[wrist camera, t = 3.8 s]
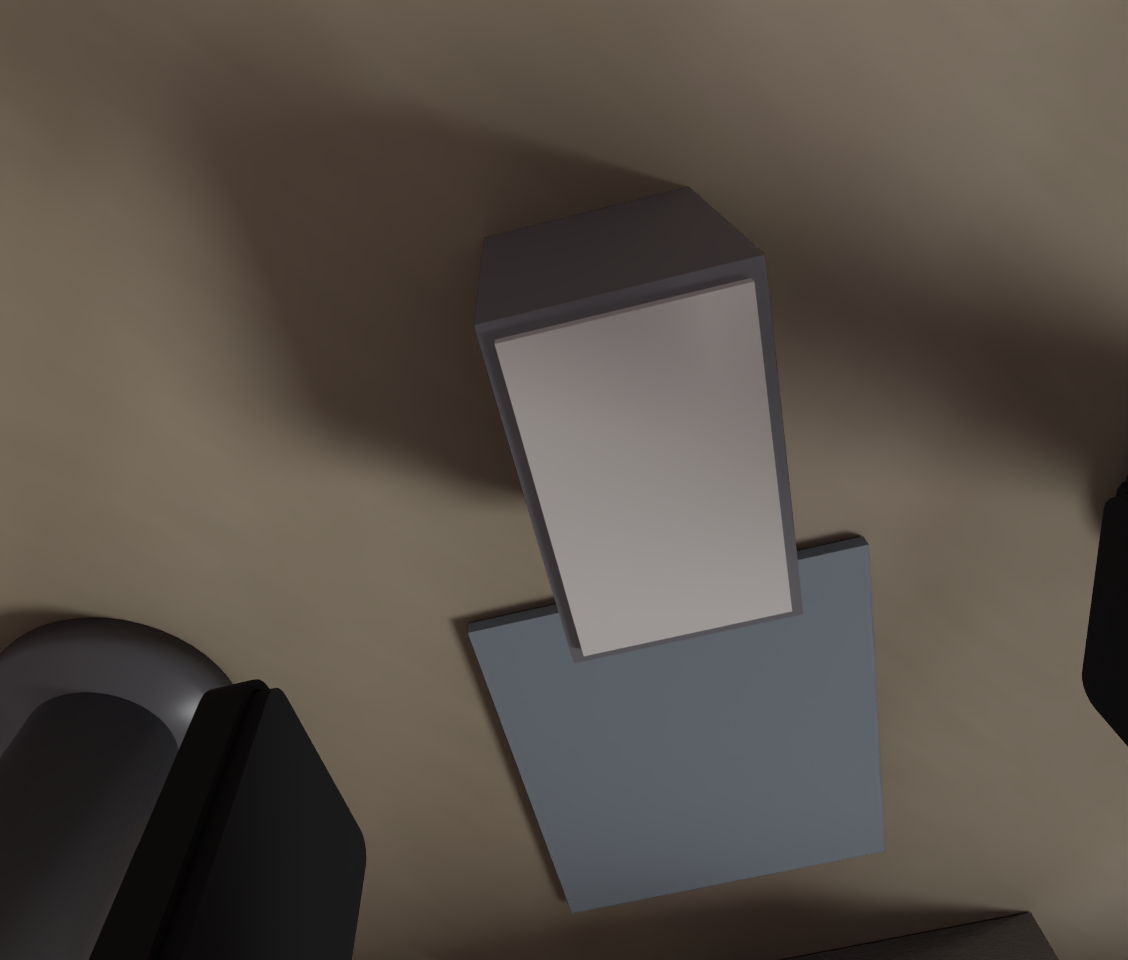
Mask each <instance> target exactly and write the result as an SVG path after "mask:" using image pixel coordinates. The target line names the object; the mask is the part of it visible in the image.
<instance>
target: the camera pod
mask: <svg viewBox="0 0 1128 960" xmlns="http://www.w3.org/2000/svg"><path fill="white" fill-rule="evenodd" d="M474 328H475V331H476V335H477V338H478V342H479V345H480V348H481V352H482V355H483V358H484V362H485V365H486V369H487V372H488V375H489V379H490V382H491V386H492V389H493V392H494V396H495V399H496V402H497V406H498V409H499V413H500V416H501V419H502V423H503V426H504V430H505V433H506V436H507V440H508V443H509V446H510V450H511V453H512V457H513V460H514V463H515V467H516V470H517V474H518V477H519V480H520V484H521V487H522V491H523V494H524V497H525V501H526V504H527V507H528V511H529V514H530V518H531V521H532V524H533V528H534V531H535V535H536V538H537V541H538V545H539V548H540V551H541V555H542V558H543V562H544V565H545V568H546V572H547V575H548V579H549V582H550V585H551V589H552V592H553V595H554V599H555V602H556V606H557V609H558V612H559V616H560V619H561V623H562V626H563V629H564V633H565V636H566V639H567V643H568V646H569V650H570V653H571V656H572V660H573V663H579V662H584V661H588V660H593V659H598V658H602V657H607V656H612V655H616V654H621V653H625V652H630V651H635V650H639V649H644V648H649V647H653V646H658V645H663V644H667V643H672V642H676V641H681V640H686V639H690V638H695V637H700V636H704V635H709V634H713V633H718V632H723V631H727V630H732V629H737V628H741V627H746V626H751V625H755V624H760V623H764V622H769V621H774V620H778V619H783V618H788V617H792V616H797V615H802V614H803V606H802V597H801V587H800V578H799V568H798V559H797V549H796V540H795V531H794V521H793V512H792V502H791V493H790V483H789V474H788V465H787V455H786V446H785V436H784V427H783V418H782V408H781V399H780V389H779V380H778V370H777V361H776V352H775V342H774V333H773V323H772V314H771V305H770V295H769V286H768V276H767V267H766V257H765V254H764V253H763V252H762V251H761V250H760V249H758V248H757V247H756V246H755V245H754V244H753V243H752V242H751V241H749V240H748V239H747V238H746V237H745V236H744V235H743V234H741V233H740V232H739V231H738V230H737V229H736V228H735V227H734V226H732V225H731V224H730V223H729V222H728V221H727V220H726V219H725V218H723V217H722V216H721V215H720V214H719V213H718V212H717V211H716V210H714V209H713V208H712V207H711V206H710V205H709V204H708V203H707V202H705V201H704V200H703V199H702V198H701V197H700V196H699V195H698V194H696V193H695V192H694V191H693V190H692V189H691V188H690V187H686V188H682V189H678V190H674V191H670V192H666V193H662V194H658V195H654V196H650V197H646V198H642V199H638V200H634V201H630V202H626V203H621V204H617V205H613V206H609V207H605V208H601V209H597V210H593V211H589V212H585V213H581V214H577V215H573V216H569V217H565V218H561V219H557V220H553V221H549V222H545V223H541V224H537V225H533V226H529V227H525V228H521V229H517V230H513V231H509V232H505V233H501V234H497V235H493V236H489V237H485V238H484V243H483V252H482V260H481V268H480V277H479V285H478V293H477V302H476V310H475V318H474Z"/></svg>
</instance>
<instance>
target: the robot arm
mask: <svg viewBox="0 0 1128 960" xmlns="http://www.w3.org/2000/svg"><path fill="white" fill-rule="evenodd" d="M1082 681H1083V686H1084V689H1085V692H1086V694H1087V696H1088V698H1089V700H1090V702H1091V703H1092V705H1093V706H1094V708H1095V709H1096V710H1097V711H1098V712H1099V714H1100V715H1101V716H1102V717H1103V718H1104V719H1105V721H1106V722H1107V723H1108V724H1109V725H1110V726H1111V727H1112V729H1113V730H1114V731H1115V732H1116V733H1117V734H1118V736H1119V737H1120V738H1121V739H1122V740H1123V741H1124V742H1125V744H1126V745H1127V746H1128V480H1127V481H1125V482H1123V483H1122V484H1121V485H1120V487H1119V488H1118V490H1117V493H1116V497H1113V498H1110V499H1109V500H1108V501H1107V502H1106V503H1105V507H1104V511H1103V518H1102V526H1101V533H1100V541H1099V548H1098V556H1097V564H1096V571H1095V579H1094V586H1093V594H1092V601H1091V609H1090V616H1089V624H1088V632H1087V639H1086V647H1085V654H1084V662H1083V669H1082ZM365 867H366V848H365V841H364V838H363V834H362V832H361V830H360V828H359V826H358V824H357V823H356V821H355V819H354V817H353V815H352V814H351V812H350V810H349V808H348V806H347V805H346V803H345V801H344V799H343V798H342V796H341V794H340V792H339V790H338V789H337V787H336V785H335V783H334V781H333V780H332V778H331V776H330V774H329V772H328V771H327V769H326V767H325V765H324V763H323V762H322V760H321V758H320V756H319V754H318V753H317V751H316V749H315V747H314V745H313V744H312V742H311V740H310V738H309V736H308V735H307V733H306V731H305V729H304V727H303V726H302V724H301V722H300V720H299V718H298V717H297V715H296V713H295V711H294V710H293V708H292V706H291V704H290V702H289V701H288V699H287V697H286V695H285V694H284V693H283V691H282V690H280V689H279V688H273V689H269V688H268V686H267V685H266V684H265V683H264V682H263V681H261V680H250V681H246V682H241V683H237V684H233V685H228V686H224V687H219V688H215V689H211V690H209V691H207V692H206V693H204V695H203V696H202V698H201V699H200V701H199V704H198V706H197V708H196V711H195V713H194V715H193V718H192V720H191V722H190V725H189V727H188V729H187V732H186V734H185V736H184V739H183V741H182V743H181V746H180V748H179V750H178V753H177V755H176V757H175V760H174V762H173V764H172V767H171V769H170V772H169V774H168V776H167V779H166V781H165V783H164V786H163V788H162V790H161V793H160V795H159V797H158V800H157V802H156V804H155V807H154V809H153V811H152V814H151V816H150V818H149V821H148V823H147V825H146V828H145V830H144V832H143V835H142V837H141V840H140V842H139V844H138V846H137V848H136V850H135V852H134V855H133V857H132V859H131V862H130V864H129V866H128V869H127V871H126V873H125V876H124V878H123V881H122V883H121V885H120V888H119V890H118V892H117V895H116V897H115V899H114V902H113V904H112V906H111V909H110V911H109V913H108V916H107V918H106V920H105V923H104V925H103V927H102V930H101V932H100V934H99V937H98V939H97V941H96V944H95V946H94V948H93V951H92V953H91V955H90V958H89V960H352V954H353V947H354V941H355V934H356V927H357V921H358V914H359V907H360V901H361V894H362V887H363V881H364V874H365Z"/></svg>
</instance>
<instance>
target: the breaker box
mask: <svg viewBox="0 0 1128 960" xmlns="http://www.w3.org/2000/svg"><path fill="white" fill-rule="evenodd" d="M786 960H1058V958H1057V956H1056V954H1055V953H1054V951H1053V949H1052V948H1051V946H1050V944H1049V943H1048V941H1047V939H1046V937H1045V936H1044V934H1043V932H1042V931H1041V929H1040V927H1039V926H1038V924H1037V922H1036V921H1035V919H1034V917H1033V915H1032V914H1031V913H1025V914H1020V915H1015V916H1010V917H1005V918H999V919H994V920H989V921H984V922H979V923H973V924H968V925H963V926H958V927H953V928H947V929H942V930H937V931H932V932H927V933H921V934H916V935H911V936H906V937H901V938H895V939H890V940H885V941H880V942H874V943H869V944H864V945H859V946H854V947H848V948H843V949H838V950H833V951H828V952H822V953H817V954H812V955H807V956H802V957H796V958H791V959H786Z"/></svg>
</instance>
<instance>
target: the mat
mask: <svg viewBox="0 0 1128 960" xmlns="http://www.w3.org/2000/svg"><path fill="white" fill-rule="evenodd" d="M797 559H798V568H799V578H800V587H801V597H802V606H803V614H802V615H797V616H792V617H788V618H783V619H778V620H774V621H769V622H764V623H760V624H755V625H751V626H746V627H741V628H737V629H732V630H727V631H723V632H718V633H713V634H709V635H704V636H700V637H695V638H690V639H686V640H681V641H676V642H672V643H667V644H663V645H658V646H653V647H649V648H644V649H639V650H635V651H630V652H625V653H621V654H616V655H612V656H607V657H602V658H598V659H593V660H588V661H584V662H579V663H573V660H572V656H571V653H570V650H569V646H568V643H567V639H566V636H565V633H564V629H563V626H562V623H561V619H560V616H559V612H558V609H557V606H556V604H555V605H550V606H546V607H541V608H537V609H532V610H528V611H523V612H519V613H514V614H510V615H505V616H501V617H496V618H492V619H487V620H483V621H478V622H474V623H469V624H468V635H469V638H470V640H471V643H472V646H473V648H474V651H475V654H476V656H477V659H478V662H479V664H480V667H481V670H482V672H483V675H484V678H485V681H486V683H487V686H488V689H489V691H490V694H491V697H492V699H493V702H494V705H495V707H496V710H497V713H498V716H499V718H500V721H501V724H502V726H503V729H504V732H505V734H506V737H507V740H508V742H509V745H510V748H511V751H512V753H513V756H514V759H515V761H516V764H517V767H518V769H519V772H520V775H521V777H522V780H523V783H524V786H525V788H526V791H527V794H528V796H529V799H530V802H531V804H532V807H533V810H534V812H535V815H536V818H537V821H538V823H539V826H540V829H541V831H542V834H543V837H544V839H545V842H546V845H547V847H548V850H549V853H550V855H551V858H552V861H553V864H554V866H555V869H556V872H557V874H558V877H559V880H560V882H561V885H562V888H563V890H564V893H565V896H566V899H567V901H568V904H569V907H570V909H571V912H572V913H577V912H582V911H587V910H592V909H597V908H602V907H607V906H612V905H617V904H622V903H627V902H632V901H637V900H642V899H647V898H652V897H657V896H662V895H667V894H673V893H678V892H683V891H688V890H693V889H698V888H703V887H708V886H713V885H718V884H723V883H728V882H733V881H738V880H743V879H748V878H753V877H758V876H763V875H768V874H773V873H778V872H783V871H788V870H793V869H798V868H803V867H808V866H814V865H819V864H824V863H829V862H834V861H839V860H844V859H849V858H854V857H859V856H864V855H869V854H874V853H879V852H884V851H885V842H884V823H883V804H882V785H881V766H880V747H879V728H878V709H877V690H876V671H875V652H874V633H873V614H872V595H871V576H870V557H869V544H868V543H867V541H866V540H865V538H864V537H863V536H862V537H858V538H853V539H849V540H844V541H840V542H835V543H830V544H826V545H821V546H817V547H812V548H808V549H803V550H799V551H797Z"/></svg>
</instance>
